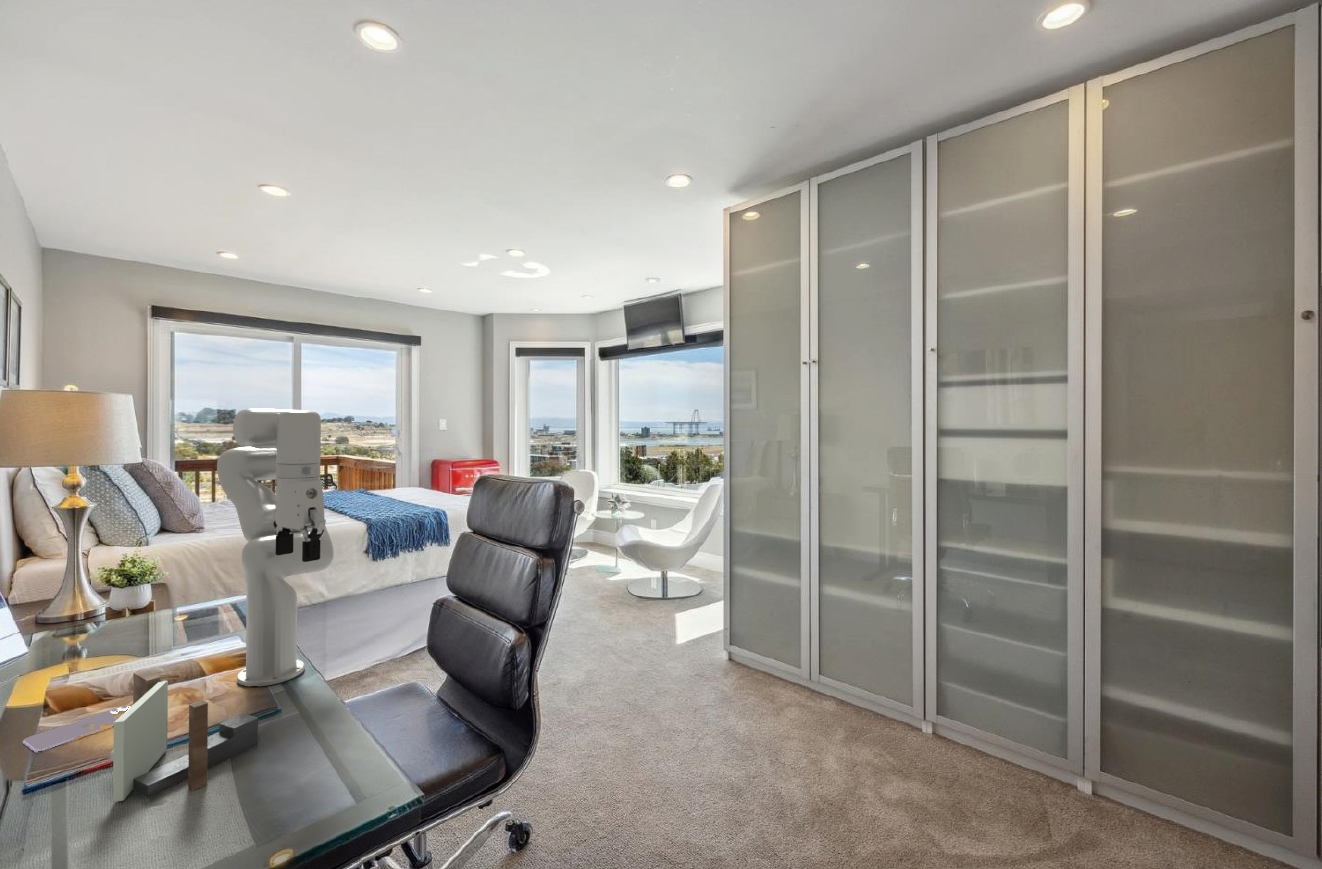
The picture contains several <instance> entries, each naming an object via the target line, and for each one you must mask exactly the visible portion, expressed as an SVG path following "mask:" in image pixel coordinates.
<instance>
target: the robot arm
mask: <svg viewBox="0 0 1322 869" xmlns="http://www.w3.org/2000/svg"><path fill="white" fill-rule="evenodd" d="M321 419H322V418H321V416H320V414H319V413H318V412H316V411H312V410H304V409H282V408H281V409H278V408H277V409H276V408H246V409H241V410H239V411H238V412H237V413H236V415H235V416H234V420H233V425H232V432H233V437H234V440H235V442H236V443H237V445H238V446H239V447H234V448H231V449H226V450H225V451H223V452H222V453H221V454H220V455H219V457H218V459H217V463H216V471H217V477H218V481H219V482H218V483H219V484H220V486H221V488H222V490H223V492H224V493H225V495H226V496H227V498H228V499H229V501H230V502H232V504H233V505H234V508H235V509H236V512H237V517H238V521H239V524H240V528H241V531H242V534H243V537H244V538H245V540H246V541H247V542H246V544H245V545H244V546H243V548H242V551H241V562H242V568H243V573H244V574H243V576H244V580H245V581H244V582H245V591H246V592H245V594H246V595H245V596H246V597H245V598H246V599H245V600H246V607H245V608H246V610H245V611H246V617H245V619H246V620H245V621H246V623H245V624H246V625H245V626H246V628H245V629H246V631H245V634H246V635H245V641H246V642H245V668H244V669H242V670H241V671H240V672H238V674H237V676H236V677H237V678H236V681H237V683H238V685H241V686H243V685H244V686H245V687H250V686H258V687H265V686H271V685H276V684H281V683H284V682H287V681H289V680H291V679H294V678H296V677H297V676H299V675H300V674H302V673H303V672H304V670H305V662H303V661H302V660H301V659H298V658H297V657H298V656H297V654H298V652H297V651H298V650H297V649H298V648H297V647H298V645H297V644H298V643H297V642H298V636H297V635H298V631H297V630H298V595H297V594H298V593H297V592H296V590H295V588H294V587H293V586H292V585H290V584H289V583H288V582H286V580H285V578H286V577H292V576H294V575H302V574H303V575H304V574H309V573H310V574H311V573H314V572H315V573H316V572H320V571H323V570H325V569H327V568H328V567H330V565H331V564H332V562H333V560H334V546H333V542H332V539H331V536H330V533H329V531H328V529H327V526H326V524H327V521H326V518H325V501H324V499H325V498H324V491H323V485H322V480H321V458H322V457H321V455H322V452H321V448H322V447H321V446H322V444H321V442H322V440H321V438H322V437H321V435H322V431H321V430H322V420H321ZM267 480H273V481H274V480H275V481H277V484H276V493H275V492H274V491H273V490H272V489H271V488H269V487H268V486H267V485H265V484H263V483H261V482H260V481H267Z"/></svg>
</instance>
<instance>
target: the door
mask: <svg viewBox="0 0 1322 869" xmlns="http://www.w3.org/2000/svg"><path fill="white" fill-rule="evenodd" d="M168 686H169V682H168V680H160V682H158V683H157V684H156V685H155V686H154V687H153V688H151V689H150V690H149V691H148V692H147V693H146V694H145V695H144V696H143V697H141V698H140V699H139V700H138V701H137V702H136V703H135V704H134V705H133V704H132V705H130V706H131V707H130V708H129V709H128V710H127V711H126V712H125V713H124V714H122V715H121V716H120V717H119V718H118V719H117V720H116V721H115V722H114V727H113V749H112V750H111V751H110V754H109V759H108V760H109V762H113V766H112V767H113V774H112V775H113V779H112V780H113V781H112V782H113V783H112V784H113V785H112V788H113V789H112V791H113V792H112V797H113V799H112V800H113V801H112V802H113V803H117V802H122V801H124V800H125V799H126V798H128V797H127V796H129V795H130V793H131V792H132V791H134V778H136V777H138V776H141V775H143V774H145V773H147V772H150V771H151V769H152V768H153V767H154V765H155V764H156V763H157V762H158V761H159V760H160V758H161V757H162V756H163V755H164V754H165V753H166V751H167V749H168V723H169V722H168V714H169V713H168V712H169V711H168V709H169V708H168V705H169V703H168V701H169V700H168V698H169V696H168V695H169V690H168V688H169V687H168Z"/></svg>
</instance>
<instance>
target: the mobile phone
mask: <svg viewBox="0 0 1322 869" xmlns="http://www.w3.org/2000/svg"><path fill="white" fill-rule="evenodd" d="M131 706H132V705H130V706H128V705H123V706H121V707H117V708H114V709H111V710H108V711H104V712H101V713H98V714H95V715H93V716H89V717H86V718H83V719H80V720H77V721H74V722H73V721H72V722H71V723H68V724H63V725H62V726H58V727H54V728H52V729H49V730H46V731H43V732H40V733H36V734H34V735H31V736H28V737H25V738H24V739H23V740H22V744H23V745H24V746H26V747H27V749H29V750H30V751H32V750H33V751H34V752H33V751H32V752H33V753H39V752H38V751H41V750H42V751H43V750H45V749H49V750H51V749H50V748H52V747H55V746H58V745H60V744H62V743H65V742H68V741H70V740H73V739H74V738H76V737H78V736H83V735H86V734H88V733H91V732H94V731H98V730H100V729H101V728H100V725H99V724H114V722H115V721H116V720H117V719H115V718H113V717H115V716H113V714H116V715H117V714H118V712H119V711H126V710H127V709H129V708H130V707H131ZM128 707H129V708H128ZM116 711H118V712H116ZM116 718H118V717H116ZM88 724H95V726H93V727H94V729H90V728H89V727H91V726H90V725H88ZM58 747H59V746H58ZM55 748H56V747H55ZM52 749H53V748H52ZM43 752H44V751H43Z"/></svg>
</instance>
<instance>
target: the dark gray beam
mask: <svg viewBox="0 0 1322 869" xmlns="http://www.w3.org/2000/svg"><path fill="white" fill-rule="evenodd" d="M218 728H219V729H218V730H219V731H218V732H216V733H213V734H211V735H208V758H207V771H208V770H211V769H212V768H215V767H216V766H219V765H221V764H223V763H225V762H227V761H229V760H231V759H234V758H236V757H237V756H240V755H241V754H244V753H246V752H248V751H250V750H252V749H253V748H254V749H255V748H256V747H258V746H259V742H258V741H259V739H258V738H259V736H258V735H259V733H258V732H259V730H258V729H259V717H256V716H254V715H251V714H248V713H245V712H242V713H240V714H238V715H236V716H233V717H231V718H229V719H225V720H224V721H222V722H219V723H218ZM188 764H189V753H188V754H185V755H184V756H181V757H180V758H179V757H178V758H177V759H174V760H172V761H170V762H168V763H165V764H163V765H161V766H158V767H157V768H154V769H152V770H149V771H148V772H147V773H145V774H143V775H141V776H138V777H136V778H134V789H133V792H134V793H135V794H138V795H140V796H142V797H144V798H146V799H151V798H152V797H154V796H156V795H158V794H159V795H160V794H161V793H163V792H164V791H167V790H169V789H171V788H173V787H175V786H177V785H180V784H182V783H183V782H185V781H188Z"/></svg>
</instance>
